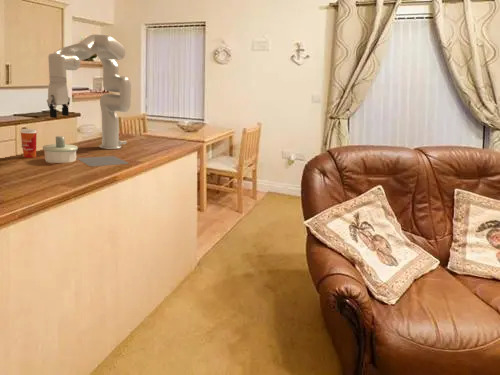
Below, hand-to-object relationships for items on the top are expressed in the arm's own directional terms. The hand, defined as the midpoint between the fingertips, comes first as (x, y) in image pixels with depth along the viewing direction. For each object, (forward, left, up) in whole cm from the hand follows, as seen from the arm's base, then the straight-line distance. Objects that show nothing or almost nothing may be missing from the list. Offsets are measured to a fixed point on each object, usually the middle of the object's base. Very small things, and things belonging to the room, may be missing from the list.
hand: (59, 116), depth 211 cm
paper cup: (+11, -13, -22) cm, 28 cm away
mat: (-18, +9, -22) cm, 30 cm away
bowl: (0, 0, -22) cm, 22 cm away
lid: (0, 0, -16) cm, 16 cm away
